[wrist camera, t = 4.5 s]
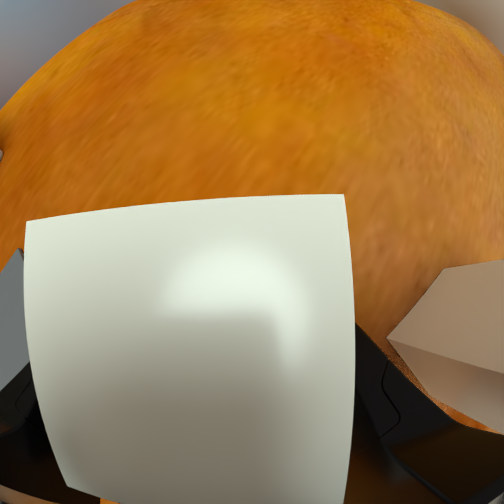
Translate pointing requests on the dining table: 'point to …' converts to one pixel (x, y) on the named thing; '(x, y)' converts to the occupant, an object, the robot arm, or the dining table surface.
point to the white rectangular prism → (196, 349)
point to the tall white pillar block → (459, 341)
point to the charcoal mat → (12, 320)
